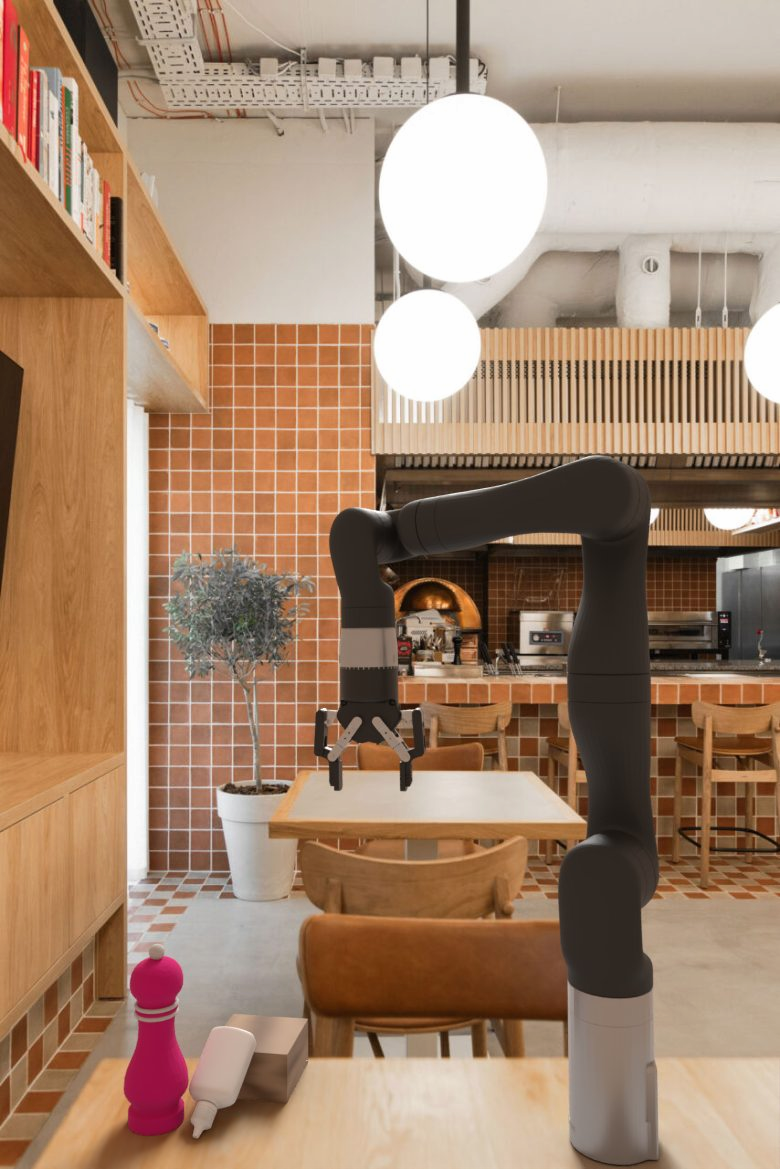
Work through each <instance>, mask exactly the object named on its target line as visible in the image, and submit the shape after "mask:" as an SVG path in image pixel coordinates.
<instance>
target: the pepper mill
mask: <svg viewBox="0 0 780 1169" xmlns="http://www.w3.org/2000/svg"><path fill="white" fill-rule="evenodd" d="M165 951H166V950H165V947H164V945H163V944H161V943H154V944H152V945H151V946H150V948H149V950H148V955H149V957H146V958H144V959H142V960H141V961H140V962H138V963H137V964H136V965H135V966H134V968H133V970H132V972H131V974H130V978H129V990H130V994H131V995H132V997H133V998H134V999H135V1000H136V1001H135V1002H134V1004H133V1008H134V1013H133V1016H134V1018H135V1019H136V1020H137V1024H138V1025H137V1026H138V1027H137V1028H138V1030H137V1041H136V1043H135V1049H134V1051H133V1053H132V1056H131V1058H130V1061H129V1063H128V1066H127V1068H126V1072H125V1075H124V1078H123V1079H124V1082H123V1094H124V1097H125V1099H126V1100H127V1101H128V1103H129V1104H130V1105H129V1106H128V1109H127V1126H128V1128H129V1130H130V1131H131V1132H132V1133H135V1134H136V1135H140V1136H144V1137H145V1136H147V1137H149V1136H150V1137H151V1136H152V1137H153V1136H160V1135H164V1134H167V1133H169V1132H172V1131H175V1130H176V1129H177V1128H178V1127H180V1125H182V1124H183V1121H184V1119H185V1102H184V1100H183V1098H182V1097H183V1095H185V1093H186V1091H187V1090H188V1088H189V1084H190V1082H189V1080H190V1079H189V1069H188V1066H187V1062H186V1059H185V1057H184V1055H183V1053H182V1050H181V1048H180V1045H179V1042H178V1038H177V1036H176V1026H175V1021H176V1020H175V1019H176V1016H177V1015H178V1014H179V1011H180V1007H179V1003H180V999H179V998H178V997H177V996H178V994H179V993H180V992H181V990H182V989H183V985H184V973H183V969H182V966H181V965H180V964H179V962H178V961H177V960H176V959H174V958H172V957H169V956H167V955H165V953H166V952H165Z"/></svg>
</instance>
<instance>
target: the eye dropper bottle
mask: <svg viewBox="0 0 780 1169" xmlns="http://www.w3.org/2000/svg"><path fill="white" fill-rule="evenodd" d="M255 1048H256V1040H255V1038H254V1036H253V1034H252V1033H250V1032H248V1031H245V1030H242V1029H239V1028H234V1027H227V1026H225V1025H224V1026H223V1025H222V1026H220V1025H219V1026H215V1027H213V1028H212V1029H211V1030H210V1033H209V1035H208V1038H207V1040H206V1043H205V1045H204V1047H203V1050H202V1052H201V1055H200V1057H199V1059H198V1063H197V1065H196V1068H195V1070H194V1072H193V1074H192V1077H191V1080H190V1082H189V1084H188V1091H189V1095H190V1096H191V1098H192V1100H194V1101H195V1102H196V1105H195V1107H194V1110H193V1112H192V1114H191V1118H190V1123H191V1124H192V1126H193V1131H192V1138H194V1139H199V1138H200V1136H201V1134H202V1133H203V1131H209V1129H210V1130H211V1129H212V1125H213V1123H214V1120H215V1118H216V1115H217V1112H218V1110H221V1109H225V1108H228V1107H231V1106H232V1105H234V1104H235V1103H236V1101H237V1100H238V1099H237V1096H238V1094H239V1091H240V1089H241V1086H242V1083H243V1081H244V1078H245V1075H246V1072H247V1070H248V1067H249V1064H250V1062H251V1059H252V1056H253V1053H254V1051H255Z"/></svg>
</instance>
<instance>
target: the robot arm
mask: <svg viewBox="0 0 780 1169" xmlns="http://www.w3.org/2000/svg"><path fill="white" fill-rule="evenodd" d="M651 513H652V497H651V491H650V488H649V485H648V483H647V482H646V479H645V478H644V476H643V475H642V474H641V473H640V472H639V471H638V470H637V469H635V468H634V467H633V466H631V465H629V464H627V463H625V462H624V461H623V462H622V461H620V460H619V459H616V458H613V457H611V456H607V455H600V454H597V455H589V456H586V457H583V458H579V459H577V460H574V461H572V462H568V463H565V464H563V465H560V466H557V467H555V468H552V469H549V470H546V471H544V472H541V473H538V474H535V475H533V476H529V477H526V478H523V479H520V480H516V481H512V482H508V483H505V484H501V485H496V486H491V487H485V488H480V489H473V490H468V491H462V492H461V491H460V492H455V493H450V494H444V495H443V494H442V495H436V496H432V497H427V498H421V499H417V500H414V501H410V502H408V503H407V504H405V505H404V506H403V507H402V508H399V509H393V510H392V509H391V510H383V511H382V510H374V509H370V508H365V507H357V506H355V507H347V508H345V509H343V510H341V511H340V512H339V513H337V515H336V516H335V518H334V520H333V521H332V524H331V527H330V531H329V536H328V548H329V549H328V550H329V555H330V560H331V563H332V567H333V568H332V570H333V573H334V575H335V576H334V577H335V581H336V584H337V587H338V591H339V594H340V627H341V629H340V639H339V640H340V641H339V654H338V663H339V699H340V700H339V708H338V709H337V710H334V709H328V708H325V707H324V708H320V709H318V710H317V711H316V712H315V718H314V722H315V723H314V740H313V741H314V742H313V743H314V744H313V754H314V756H316V757H320V758H322V759H323V758H324V759H325V760H326V761H327V762H328V783H329V786H330V787H333V791H335V792H341V791H342V790H343V785H344V784H343V782H344V781H343V776H344V775H343V760H342V759H341V756H342V755H343V753H345V751H346V749H347V748H348V747H349V745H351V743H352V742H355V743H356V744H365V743H373V744H381V743H384V742H387V744H388V746H389V747H390V748H391V749H392V750H394V752H395V753H396V755H397V756H398V757H399V759H400V761H399V791H400V792H407V791H408V788H410V787H411V786H412V784H413V782H414V780H413V761H414V760H415V759H417V758H421V757H423V756H424V755H425V754H426V752H427V743H426V742H427V741H426V731H425V730H426V728H425V727H426V726H425V716H424V715H425V714H424V713H425V712H424V710H423V708H421V707H416V708H415V709H406V710H405V709H403V710H402V708H401V706H400V702H399V661H398V660H399V656H398V653H399V652H398V650H399V648H398V640H397V632H396V602H395V600H396V599H395V592H394V589H393V588H392V586H391V585H389V584H388V583H386V582H385V581H384V580H383V579H382V577H381V572H380V568H379V565H385V564H391V563H392V564H393V563H397V562H402V561H405V560H408V559H412V558H416V557H419V556H431V555H435V554H436V555H437V554H444V553H451V552H458V551H463V550H468V549H473V548H477V547H480V546H484V545H487V544H490V543H493V542H496V541H500V540H502V539H507V538H512V537H515V536H517V537H518V536H522V535H531V534H569V535H571V534H573V535H574V534H575V535H580V541H581V554H582V573H583V574H582V576H583V578H582V591H581V597H580V601H579V605H578V609H577V611H576V616H575V619H574V623H573V628H572V631H571V634H570V635H571V636H570V639H569V640H570V641H569V644H568V650H567V660H566V683H567V684H566V691H567V694H566V698H567V700H566V701H567V704H566V705H567V713H568V719H569V725H570V728H571V733H572V736H573V739H574V742H575V743H574V744H575V745H576V749H577V751H578V754H579V756H580V759H581V763H582V766H583V769H584V774H585V778H586V784H587V824H586V826H587V827H586V834H585V835H586V836H585V839H584V840H582V841H581V842H579V843H577V844H576V845H574V846H573V847H571V848H570V849H569V850H568V851H567V853H565V855H564V857H563V859H562V861H561V864H560V868H559V871H558V872H559V873H558V878H557V879H558V881H557V882H558V883H557V902H558V904H557V906H558V919H559V920H558V923H559V925H558V926H559V940H560V944H559V945H560V950H561V954H562V957H563V959H564V963H565V965H566V970H567V971H566V972H567V973H566V974H567V977H566V978H567V1032H568V1033H567V1040H568V1044H567V1046H568V1048H567V1049H568V1050H567V1051H568V1055H567V1056H568V1126H569V1127H568V1128H569V1130H568V1131H569V1133H568V1134H569V1135H568V1136H569V1141H570V1143H571V1145H572V1146H573V1148H574V1149H576V1151H578V1152H579V1153H580V1154H582V1155H583V1156H585V1157H587V1158H589V1159H592V1160H594V1161H596V1162H599V1163H606V1164H608V1165H623V1166H624V1165H634V1164H639V1163H642V1162H645V1161H647V1160H648V1161H649V1160H651V1161H652V1160H653V1161H658V1160H659V1159H660V1157H659V1154H660V1153H659V1149H660V1148H659V1101H658V1100H659V1098H658V1096H659V1090H658V1086H659V1085H658V1066H657V1063H656V1059H655V1020H654V1019H655V1018H654V1016H655V1014H654V1013H655V1012H654V1010H655V1008H654V1004H655V1003H654V966H653V965H654V964H653V962H652V960H651V958H650V956H649V955H648V954H646V952H644V948H643V946H644V945H643V944H644V943H643V927H642V909H643V908H644V907H646V906H647V905H648V903H650V902H651V900H652V899H653V898H654V896H655V894H656V892H657V888H658V885H659V880H660V863H659V862H660V861H659V854H658V847H657V846H658V845H657V839H656V831H655V823H654V815H653V814H654V813H653V807H652V806H653V805H652V798H651V796H652V795H651V764H652V763H651V762H652V726H651V724H652V723H651V720H652V719H651V717H652V676H651V675H652V674H651V672H652V671H651V670H652V669H651V657H650V636H649V633H650V632H649V616H648V603H647V602H648V601H647V589H646V588H647V586H646V584H647V583H646V582H647V581H646V579H647V578H646V575H647V561H648V560H647V558H648V547H649V537H650V526H651V515H652V514H651ZM335 719H337V721H338V723H339V724H340V725H341V727H342V728H343V730H344V731H343V732H342V734H341V735H340V737H339V738H338V740H336V743H335V744H334V745H333V747H332V748H331V747H329V746H328V739H329V738H328V736H329V727H330V726H332V725H333V724H334V720H335ZM402 719H404V720H405V722H406V723H407V725H408V726H409V727H412V732H413V733H412V735H413V747H412V748H410V747H409V746H408V745H407V744H406V742H405V741H404V738H403V737H402V736H401V735H400V733H399V732H398V730H397V729H396V728H397V726H398V725H399V724H400V723H401V722H402Z"/></svg>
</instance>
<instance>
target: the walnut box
mask: <svg viewBox="0 0 780 1169" xmlns="http://www.w3.org/2000/svg"><path fill="white" fill-rule="evenodd" d="M224 1026H227V1027H234V1028H239V1029H242V1030H245V1031H248V1032H250V1033H252V1034H253V1036H254V1038H255V1040H256V1048H255V1051H254V1053H253V1056H252V1059H251V1062H250V1064H249V1067H248V1070H247V1072H246V1075H245V1078H244V1081H243V1083H242V1086H241V1089H240V1091H239V1094H238V1096H237V1099H236V1100H249V1101H257V1102H258V1101H260V1102H272V1103H274V1102H275V1103H282V1104H283V1103H285V1104H288V1102H289V1101H290V1098H291V1096H292V1095H293V1092H294V1091H295V1089H296V1087H297V1085H298V1083H299V1080H300V1079H301V1077H302V1076H303V1073H304V1071H305V1069H306V1067H307V1065H308V1063H309V1019H308V1018H304V1017H303V1018H302V1017H287V1016H286V1017H284V1016H274V1015H273V1016H270V1015H259V1014H258V1015H257V1014H256V1015H255V1014H245V1013H244V1014H240V1013H233V1014H232V1015H231V1016H230V1018H229V1019H228V1020H227V1022H226V1023H225V1024H224ZM306 1060H308V1061H306Z"/></svg>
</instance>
